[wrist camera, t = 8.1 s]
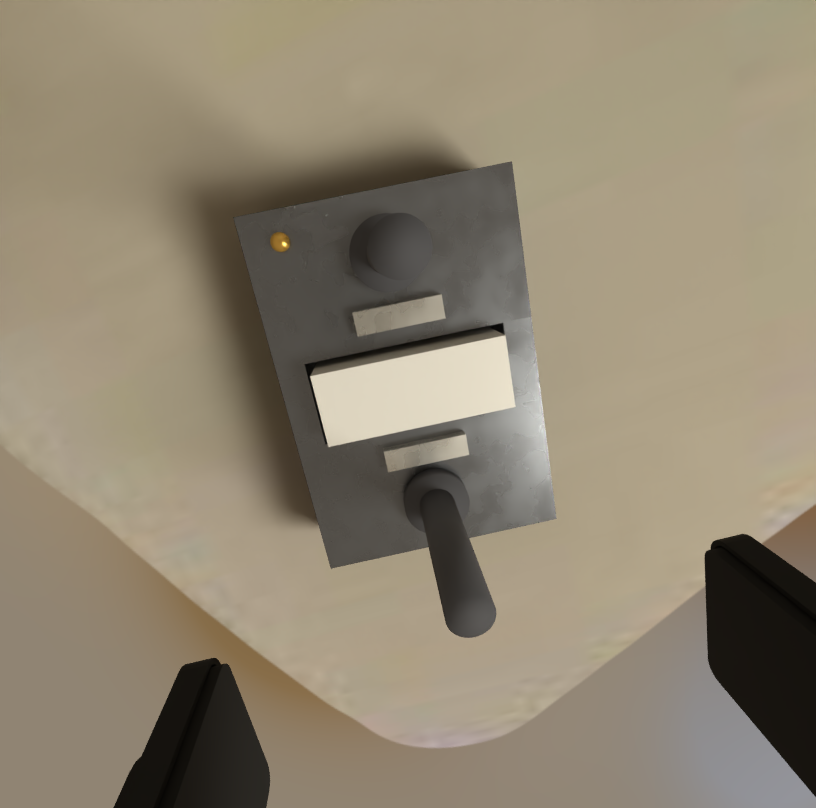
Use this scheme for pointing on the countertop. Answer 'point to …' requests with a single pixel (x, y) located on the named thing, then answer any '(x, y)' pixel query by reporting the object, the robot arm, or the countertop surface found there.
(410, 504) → the black toggle lever
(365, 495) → the gray switch control box
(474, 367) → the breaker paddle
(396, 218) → the dark grey upright post
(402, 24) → the countertop surface
